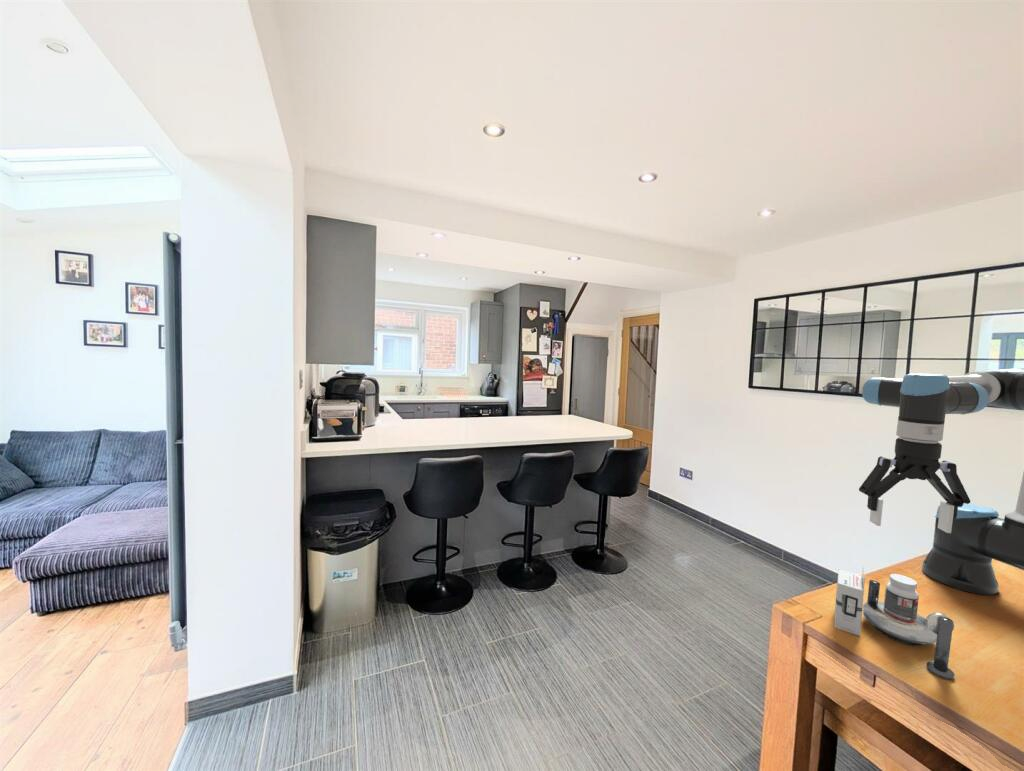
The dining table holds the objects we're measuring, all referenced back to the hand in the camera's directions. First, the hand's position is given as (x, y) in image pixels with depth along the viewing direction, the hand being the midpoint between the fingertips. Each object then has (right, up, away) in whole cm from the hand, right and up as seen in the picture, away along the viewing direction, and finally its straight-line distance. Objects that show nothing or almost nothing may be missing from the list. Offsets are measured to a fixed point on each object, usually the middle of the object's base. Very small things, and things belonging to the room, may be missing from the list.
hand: (909, 527), depth 93 cm
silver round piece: (0, -25, +2) cm, 25 cm away
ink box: (-10, -26, +5) cm, 29 cm away
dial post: (-3, -28, -10) cm, 29 cm away
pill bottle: (0, -23, +2) cm, 23 cm away
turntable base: (0, -27, +2) cm, 27 cm away
